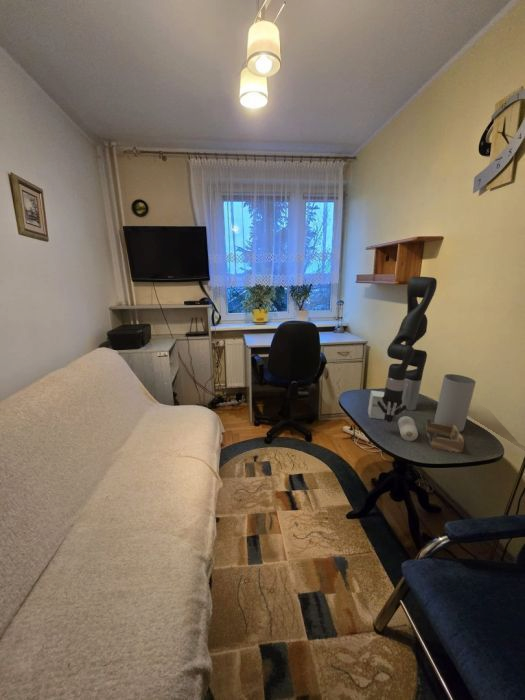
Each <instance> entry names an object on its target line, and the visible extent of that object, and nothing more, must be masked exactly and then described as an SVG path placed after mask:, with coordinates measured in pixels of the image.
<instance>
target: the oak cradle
mask: <svg viewBox="0 0 525 700" xmlns="http://www.w3.org/2000/svg"><path fill="white" fill-rule="evenodd" d="M426 421H427V422H426V426H425V431H424V432H425V434H426V436H427V440H428V442H429V444H430V447H431V448H432V449H436V450H441V451H442V450H443V451H446V450H448V451H447V452H452V451H455V452H454V453H457V452H462V453H463V449H464V445H465V440H464V437H463V436H462V434H461V431H460V432H459V431H458V429H457V427H456V425H455V424H452V426H449V425H443V424H438V423H435V422H432V420H431V419H430V418H427V420H426ZM430 434H433V435H432V438H431V435H430ZM438 435H439V437H438ZM440 436H446V437H450V439H449V438H445V437H440Z"/></svg>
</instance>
